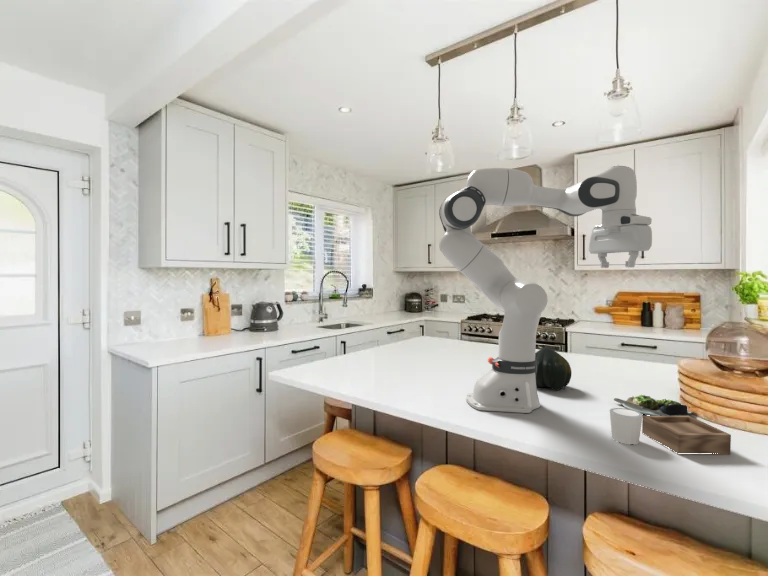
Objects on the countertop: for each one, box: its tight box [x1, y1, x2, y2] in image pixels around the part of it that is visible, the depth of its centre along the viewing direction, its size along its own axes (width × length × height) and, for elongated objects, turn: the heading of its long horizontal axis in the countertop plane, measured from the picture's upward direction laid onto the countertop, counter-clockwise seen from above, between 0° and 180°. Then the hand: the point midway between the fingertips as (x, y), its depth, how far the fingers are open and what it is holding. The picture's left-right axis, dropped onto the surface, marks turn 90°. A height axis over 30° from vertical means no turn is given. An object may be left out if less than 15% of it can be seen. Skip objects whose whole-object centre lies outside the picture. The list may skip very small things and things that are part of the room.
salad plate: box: [613, 394, 693, 417], centre depth 118 cm, size 19×18×5 cm
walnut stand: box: [641, 415, 732, 455], centre depth 95 cm, size 12×12×4 cm
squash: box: [535, 345, 572, 391], centre depth 142 cm, size 14×15×15 cm
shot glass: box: [609, 407, 644, 445], centre depth 96 cm, size 7×7×7 cm
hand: (616, 267), depth 118 cm, fingers open, 8 cm apart
